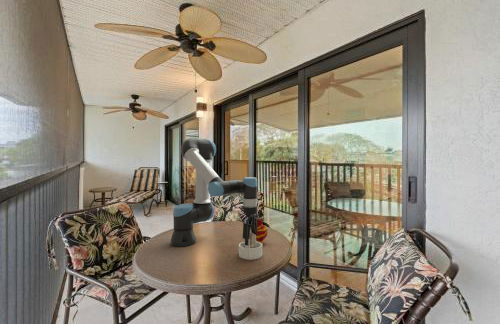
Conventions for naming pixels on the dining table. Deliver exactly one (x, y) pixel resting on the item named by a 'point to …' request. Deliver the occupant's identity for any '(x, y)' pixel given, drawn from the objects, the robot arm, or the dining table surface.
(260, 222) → the potion bottle
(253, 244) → the cream rectangular box
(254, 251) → the white round bowl
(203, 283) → the dining table surface
